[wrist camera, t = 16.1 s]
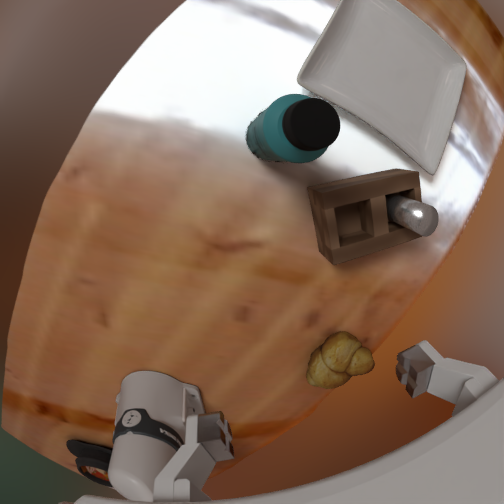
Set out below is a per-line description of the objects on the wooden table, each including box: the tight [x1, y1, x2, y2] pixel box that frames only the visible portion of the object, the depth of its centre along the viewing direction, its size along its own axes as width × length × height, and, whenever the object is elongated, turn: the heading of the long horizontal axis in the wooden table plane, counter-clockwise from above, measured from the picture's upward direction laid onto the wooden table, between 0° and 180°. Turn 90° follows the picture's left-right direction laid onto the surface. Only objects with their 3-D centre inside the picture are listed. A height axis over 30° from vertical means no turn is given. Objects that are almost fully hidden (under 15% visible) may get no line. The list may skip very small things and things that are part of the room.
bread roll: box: [306, 332, 375, 389], centre depth 46 cm, size 13×10×8 cm
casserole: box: [66, 440, 114, 488], centre depth 52 cm, size 25×19×8 cm
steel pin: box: [385, 193, 438, 236], centre depth 35 cm, size 4×4×10 cm
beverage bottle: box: [245, 94, 340, 163], centre depth 27 cm, size 6×7×20 cm
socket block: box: [307, 169, 422, 265], centre depth 38 cm, size 10×16×6 cm, turn 104°
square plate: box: [297, 0, 466, 175], centre depth 33 cm, size 27×27×4 cm
